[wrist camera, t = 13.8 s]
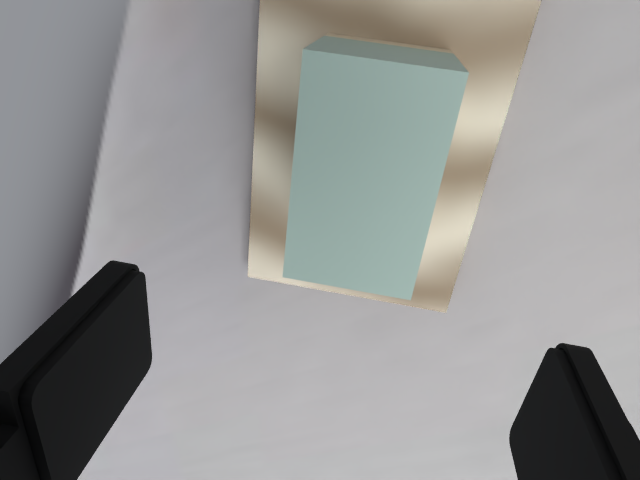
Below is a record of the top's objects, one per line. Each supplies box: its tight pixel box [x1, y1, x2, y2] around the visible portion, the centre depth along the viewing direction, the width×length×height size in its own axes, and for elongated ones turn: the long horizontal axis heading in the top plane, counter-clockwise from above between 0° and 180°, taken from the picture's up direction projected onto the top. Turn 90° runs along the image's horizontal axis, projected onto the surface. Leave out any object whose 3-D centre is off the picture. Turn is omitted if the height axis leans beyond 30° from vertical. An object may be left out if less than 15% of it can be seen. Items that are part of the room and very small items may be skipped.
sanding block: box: [283, 33, 469, 300], centre depth 22 cm, size 10×6×7 cm, turn 174°
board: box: [248, 0, 542, 313], centre depth 26 cm, size 20×13×2 cm, turn 174°
